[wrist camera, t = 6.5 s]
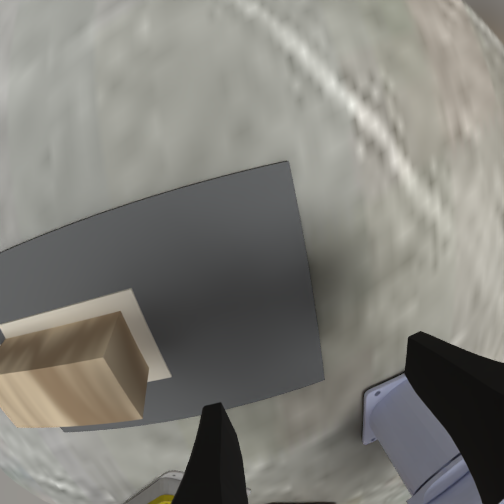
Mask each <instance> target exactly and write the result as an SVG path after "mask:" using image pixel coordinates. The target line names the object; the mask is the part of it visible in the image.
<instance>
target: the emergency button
mask: <svg viewBox="0 0 504 504" xmlns="http://www.w3.org/2000/svg"><path fill="white" fill-rule="evenodd" d="M184 473H185V472H181V471H176V470H174V471H168V472H166V473H164V474H163V475H161V476H160V477H159V478H157V479H156V480H155V481H153V482H152V483H151V484H149V485H148V486H147V487H145V488H144V489H143V490H141V491H140V492H139V493H137V494H136V495H134V496H133V497H132V498H130V499H129V500H127V501H126V502H124V503H123V504H171V502H172V500H173V498H174V496H175V494H176V492H177V489H178V487H179V485H180V483H181V480H182V478H183V475H184ZM246 490H247V496H248V495H249V494H250V493H251V489H249V488H246Z"/></svg>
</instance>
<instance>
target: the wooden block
mask: <svg viewBox="0 0 504 504" xmlns="http://www.w3.org/2000/svg"><path fill="white" fill-rule="evenodd" d="M148 374H149V367H148V365H147V363H146V361H145V359H144V357H143V355H142V354H141V352H140V350H139V348H138V346H137V344H136V342H135V340H134V338H133V336H132V334H131V332H130V329H129V327H128V325H127V323H126V321H125V319H124V317H123V315H122V312H121V311H118V312H114V313H110V314H106V315H102V316H98V317H94V318H90V319H86V320H82V321H78V322H74V323H70V324H66V325H62V326H58V327H54V328H50V329H46V330H41V331H37V332H33V333H29V334H25V335H20V336H16V337H12V338H7V339H5V340H4V342H3V343H2V344H1V346H0V407H1V409H2V410H3V411H4V412H5V414H6V415H7V416H8V417H9V418H10V420H11V421H12V422H13V423H14V424H15V426H16V427H17V428H44V427H70V426H85V425H96V424H107V423H116V422H124V421H132V420H139V419H143V412H144V404H145V396H146V388H147V381H148Z"/></svg>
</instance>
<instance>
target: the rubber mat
mask: <svg viewBox="0 0 504 504" xmlns="http://www.w3.org/2000/svg"><path fill="white" fill-rule="evenodd" d="M118 311H121V312H122V315H123V317H124V319H125V321H126V323H127V325H128V327H129V329H130V332H131V334H132V336H133V338H134V340H135V342H136V344H137V346H138V348H139V350H140V352H141V354H142V355H143V357H144V359H145V361H146V363H147V365H148V367H149V374H148V381H147V388H146V396H145V404H144V412H143V419H139V420H132V421H124V422H116V423H107V424H96V425H85V426H70V427H60V428H61V429H62V430H63V431H64V432H81V431H95V430H107V429H116V428H125V427H133V426H141V425H148V424H155V423H161V422H167V421H173V420H178V419H184V418H189V417H194V416H199V415H201V414H202V408H203V407H204V406H206V405H210V404H214V403H219V402H222V405H223V407H224V409H230V408H234V407H238V406H242V405H245V404H249V403H253V402H257V401H260V400H264V399H267V398H271V397H274V396H277V395H281V394H284V393H287V392H290V391H293V390H297V389H300V388H303V387H306V386H309V385H312V384H314V383H317V382H320V381H323V380H325V378H324V370H323V362H322V354H321V346H320V339H319V331H318V324H317V317H316V310H315V304H314V297H313V291H312V284H311V278H310V272H309V266H308V260H307V254H306V248H305V242H304V237H303V231H302V226H301V220H300V215H299V210H298V204H297V199H296V194H295V189H294V184H293V179H292V174H291V169H290V165H289V161H285V162H280V163H276V164H271V165H267V166H263V167H258V168H254V169H250V170H246V171H242V172H238V173H234V174H230V175H226V176H222V177H218V178H215V179H211V180H207V181H203V182H200V183H196V184H193V185H189V186H186V187H182V188H179V189H175V190H172V191H168V192H165V193H162V194H158V195H155V196H152V197H149V198H146V199H142V200H139V201H136V202H133V203H130V204H127V205H124V206H121V207H118V208H115V209H112V210H109V211H106V212H103V213H100V214H97V215H94V216H92V217H89V218H86V219H83V220H81V221H78V222H75V223H72V224H70V225H67V226H64V227H62V228H59V229H57V230H54V231H51V232H49V233H46V234H44V235H41V236H39V237H36V238H34V239H31V240H29V241H27V242H24V243H22V244H19V245H17V246H15V247H12V248H10V249H8V250H5V251H3V252H1V253H0V344H2V343H3V342H4V340H5V339H7V338H12V337H16V336H20V335H25V334H29V333H33V332H37V331H41V330H46V329H50V328H54V327H58V326H62V325H66V324H70V323H74V322H78V321H82V320H86V319H90V318H94V317H98V316H102V315H106V314H110V313H114V312H118Z"/></svg>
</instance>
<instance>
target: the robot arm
mask: <svg viewBox="0 0 504 504" xmlns="http://www.w3.org/2000/svg"><path fill="white" fill-rule="evenodd" d="M376 440H378V441H379V442H380V444H381V446H382V447H383V449H384V451H385V452H386V454H387V456H388V457H389V459H390V461H391V462H392V464H393V466H394V467H395V469H396V471H397V472H398V474H399V476H400V477H401V479H402V481H403V482H404V484H405V486H406V487H407V489H408V491H409V492H410V494H411V496H412V497H411V498H410V499H408V500H407V501H406V502H407V503H408V504H504V363H502V362H498V361H494V360H491V359H488V358H485V357H482V356H479V355H477V354H474V353H471V352H469V351H466V350H464V349H461V348H459V347H457V346H454V345H452V344H450V343H447V342H445V341H443V340H440V339H438V338H436V337H434V336H431V335H429V334H426V333H424V332H421V331H420V332H418V333H416V334H413V335H411V336H409V337H408V345H407V355H406V365H405V373H404V374H402V375H399V376H397V377H395V378H393V379H391V380H389V381H387V382H385V383H382V384H380V385H378V386H376V387H373V388H371V389H369V390H367V391H366V393H365V394H364V416H363V436H362V442H363V444H364V445H367V444H369V443H372V442H374V441H376ZM171 504H248V498H247V490H246V483H245V475H244V467H243V459H242V454H241V450H240V446H239V442H238V438H237V434H236V432H235V430H234V428H233V426H232V424H231V422H230V420H229V417H228V415H227V413H226V411H225V409H224V407H223V405H222V402H219V403H214V404H210V405H206V406H204V407H203V408H202V414H201V419H200V424H199V428H198V432H197V436H196V440H195V443H194V446H193V450H192V453H191V456H190V459H189V462H188V465H187V467H186V470H185V473H184V475H183V478H182V480H181V483H180V485H179V487H178V489H177V492H176V494H175V496H174V498H173V500H172V502H171Z"/></svg>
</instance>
